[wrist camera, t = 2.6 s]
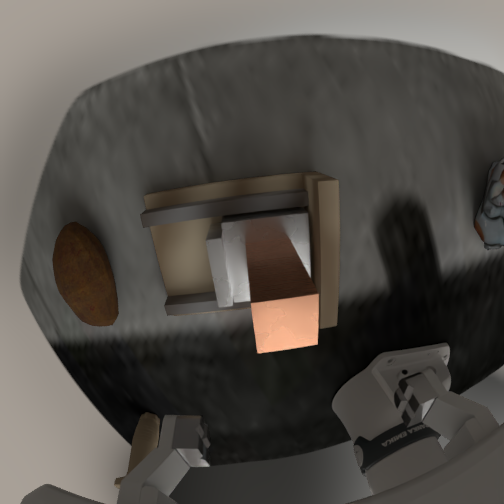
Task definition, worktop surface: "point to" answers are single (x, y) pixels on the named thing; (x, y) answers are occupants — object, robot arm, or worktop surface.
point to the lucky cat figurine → (492, 209)
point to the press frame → (235, 202)
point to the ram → (267, 274)
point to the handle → (142, 441)
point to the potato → (85, 276)
